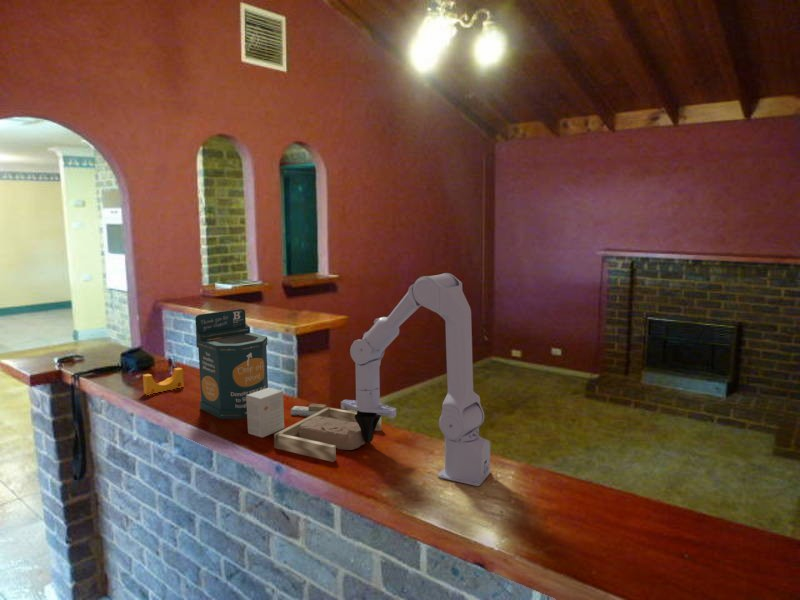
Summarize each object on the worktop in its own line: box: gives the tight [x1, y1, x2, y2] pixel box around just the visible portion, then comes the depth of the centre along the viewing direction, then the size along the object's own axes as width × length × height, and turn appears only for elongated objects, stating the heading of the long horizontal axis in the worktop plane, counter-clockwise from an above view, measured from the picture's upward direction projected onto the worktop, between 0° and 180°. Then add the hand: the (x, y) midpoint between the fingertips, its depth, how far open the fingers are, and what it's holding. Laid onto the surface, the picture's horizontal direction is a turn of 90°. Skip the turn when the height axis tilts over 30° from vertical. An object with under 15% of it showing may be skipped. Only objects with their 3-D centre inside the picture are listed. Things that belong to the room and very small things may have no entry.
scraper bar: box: [290, 403, 327, 417], centre depth 163 cm, size 10×3×3 cm, turn 76°
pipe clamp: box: [142, 367, 185, 396], centre depth 186 cm, size 12×4×6 cm, turn 136°
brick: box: [299, 416, 366, 451], centre depth 143 cm, size 17×8×5 cm, turn 62°
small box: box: [246, 387, 285, 439], centre depth 150 cm, size 8×6×10 cm
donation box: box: [194, 308, 269, 420], centre depth 166 cm, size 16×16×28 cm
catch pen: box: [273, 406, 383, 463], centre depth 145 cm, size 17×22×4 cm
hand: (368, 441), depth 140 cm, fingers closed
